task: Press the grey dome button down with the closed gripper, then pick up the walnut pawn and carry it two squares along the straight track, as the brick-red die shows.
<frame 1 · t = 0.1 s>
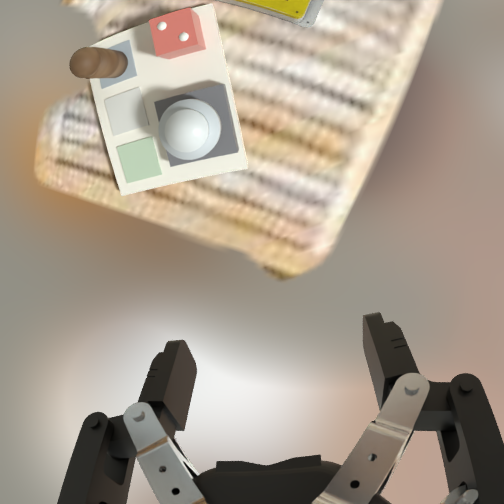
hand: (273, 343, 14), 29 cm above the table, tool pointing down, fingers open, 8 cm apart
die: (183, 37, 30), resting on board
pawn: (114, 64, 31), point 2 cm above the table, touching board
dome: (190, 128, 32), point 6 cm above the table, slide at 0.0 cm
board: (163, 100, 35), on the table
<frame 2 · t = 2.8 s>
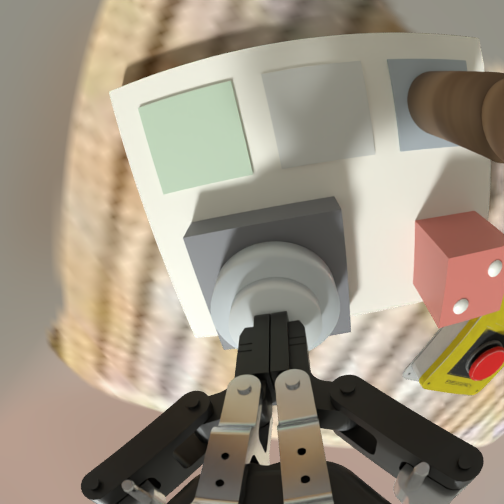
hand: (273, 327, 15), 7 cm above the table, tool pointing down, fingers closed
die: (444, 247, 18), resting on board
pawn: (436, 103, 14), point 2 cm above the table, touching board
emergency button: (476, 323, 24), on the table
dome: (275, 299, 17), point 4 cm above the table, slide at 1.2 cm, touching gripper
board: (329, 187, 18), on the table
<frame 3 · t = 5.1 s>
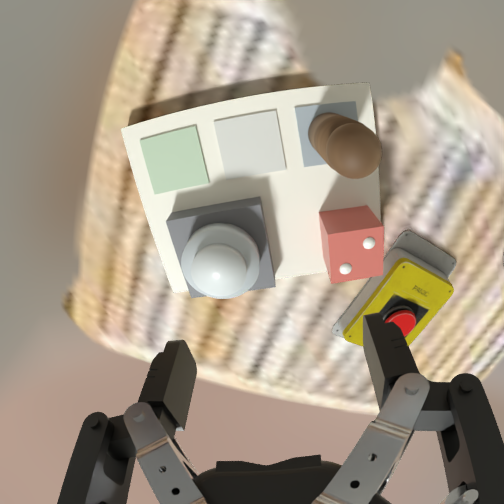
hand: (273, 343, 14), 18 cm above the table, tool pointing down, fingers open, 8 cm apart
die: (344, 231, 29), resting on board
pawn: (330, 133, 24), point 2 cm above the table, touching board
emergency button: (393, 294, 35), on the table
dome: (221, 259, 27), point 4 cm above the table, slide at 1.4 cm
board: (260, 190, 29), on the table
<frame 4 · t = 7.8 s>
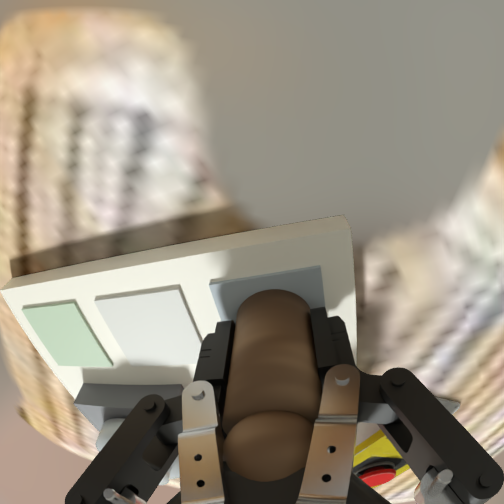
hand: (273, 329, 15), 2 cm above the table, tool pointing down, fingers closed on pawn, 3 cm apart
pawn: (274, 319, 15), point 2 cm above the table, touching board, gripper
emergency button: (376, 435, 25), on the table
dome: (143, 447, 18), point 4 cm above the table, slide at 1.4 cm
board: (185, 366, 20), on the table
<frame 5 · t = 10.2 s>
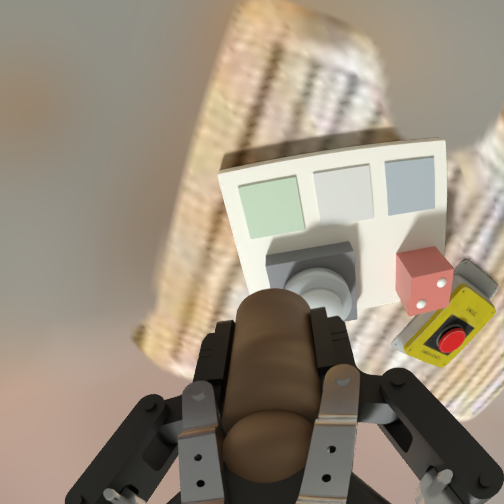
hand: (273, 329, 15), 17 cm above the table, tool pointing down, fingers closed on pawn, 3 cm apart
die: (415, 268, 31), resting on board
pawn: (274, 319, 15), point 16 cm above the table, touching gripper
emergency button: (445, 313, 36), on the table
dome: (315, 299, 30), point 4 cm above the table, slide at 1.4 cm
board: (346, 234, 31), on the table
when the fingers open (3 cm above the table, at t = 13.0 s): pawn stays where it is, resting on board.
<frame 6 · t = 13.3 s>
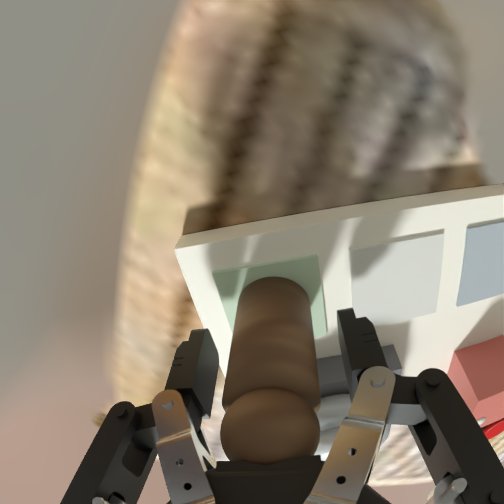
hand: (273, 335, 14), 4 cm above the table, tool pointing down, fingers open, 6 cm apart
die: (472, 363, 18), resting on board
pawn: (273, 306, 16), point 2 cm above the table, touching board
dome: (336, 427, 17), point 4 cm above the table, slide at 1.4 cm
board: (386, 327, 19), on the table
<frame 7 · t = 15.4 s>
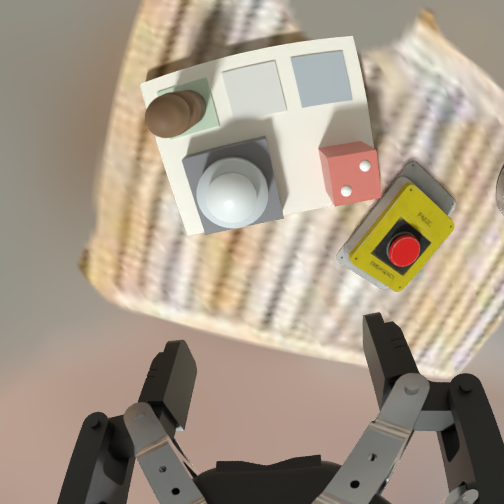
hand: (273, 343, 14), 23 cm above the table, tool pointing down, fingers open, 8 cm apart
die: (343, 165, 31), resting on board
pawn: (187, 108, 28), point 2 cm above the table, touching board
emergency button: (397, 227, 36), on the table
dome: (233, 191, 30), point 4 cm above the table, slide at 1.4 cm
board: (265, 133, 31), on the table
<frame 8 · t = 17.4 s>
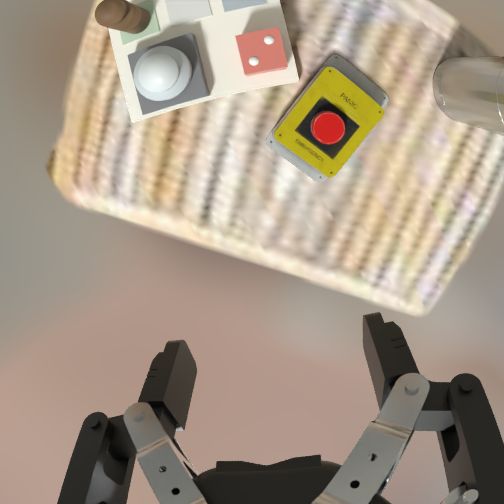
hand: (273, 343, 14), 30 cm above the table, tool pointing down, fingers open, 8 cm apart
die: (262, 55, 32), resting on board
pawn: (136, 20, 30), point 2 cm above the table, touching board
emergency button: (327, 117, 37), on the table
dome: (163, 73, 31), point 4 cm above the table, slide at 1.4 cm
board: (197, 37, 32), on the table
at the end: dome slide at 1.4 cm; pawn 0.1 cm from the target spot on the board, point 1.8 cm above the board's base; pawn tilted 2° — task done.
